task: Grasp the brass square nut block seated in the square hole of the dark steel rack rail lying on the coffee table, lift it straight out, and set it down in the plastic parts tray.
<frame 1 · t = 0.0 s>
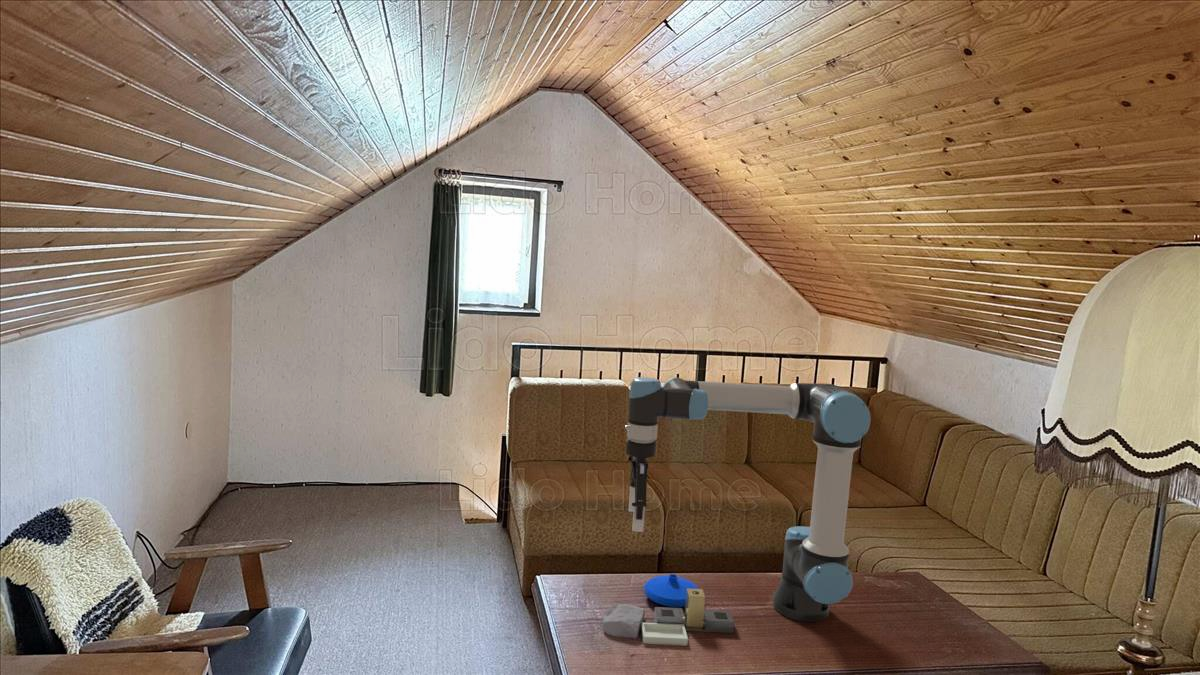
hand: (635, 520, 184), 28 cm above the table, fingers open, 13 cm apart
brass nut: (693, 625, 189), resting in rack rail
blue funnel disc: (671, 600, 202), on the table
rack rail: (693, 625, 189), on the table
parts tray: (663, 637, 182), on the table
stone block: (622, 627, 187), on the table
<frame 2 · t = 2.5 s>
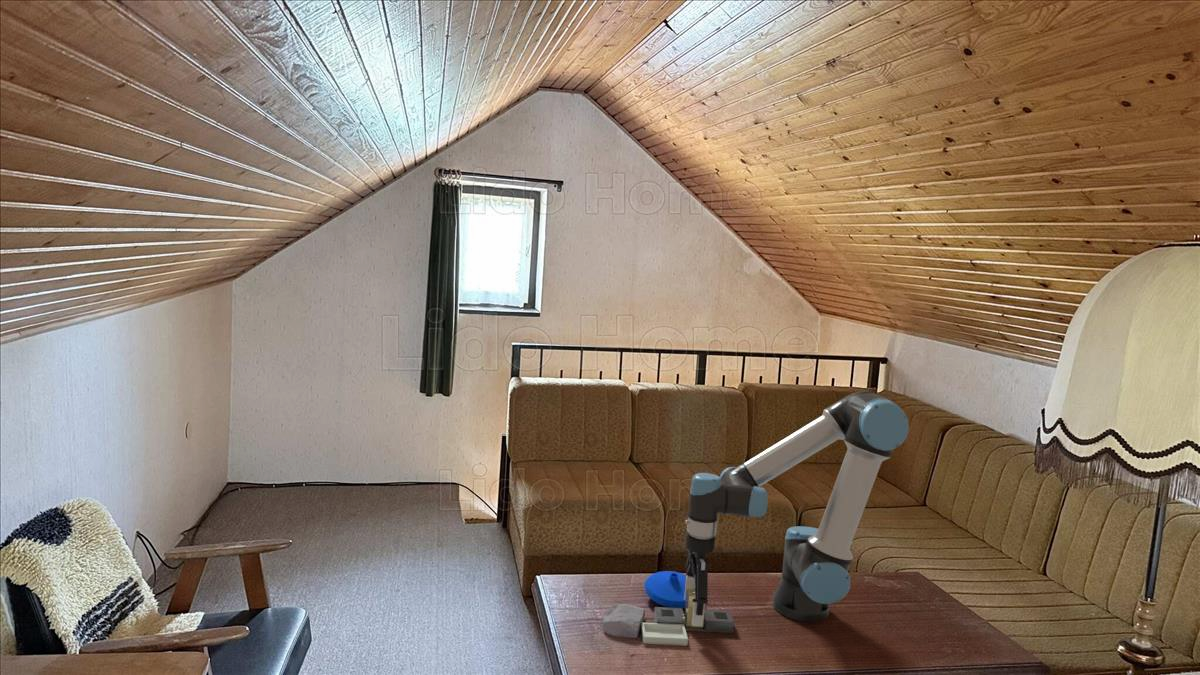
hand: (693, 612, 188), 4 cm above the table, fingers open, 13 cm apart
blue funnel disc: (671, 598, 202), on the table, touching gripper
everything else where it was.
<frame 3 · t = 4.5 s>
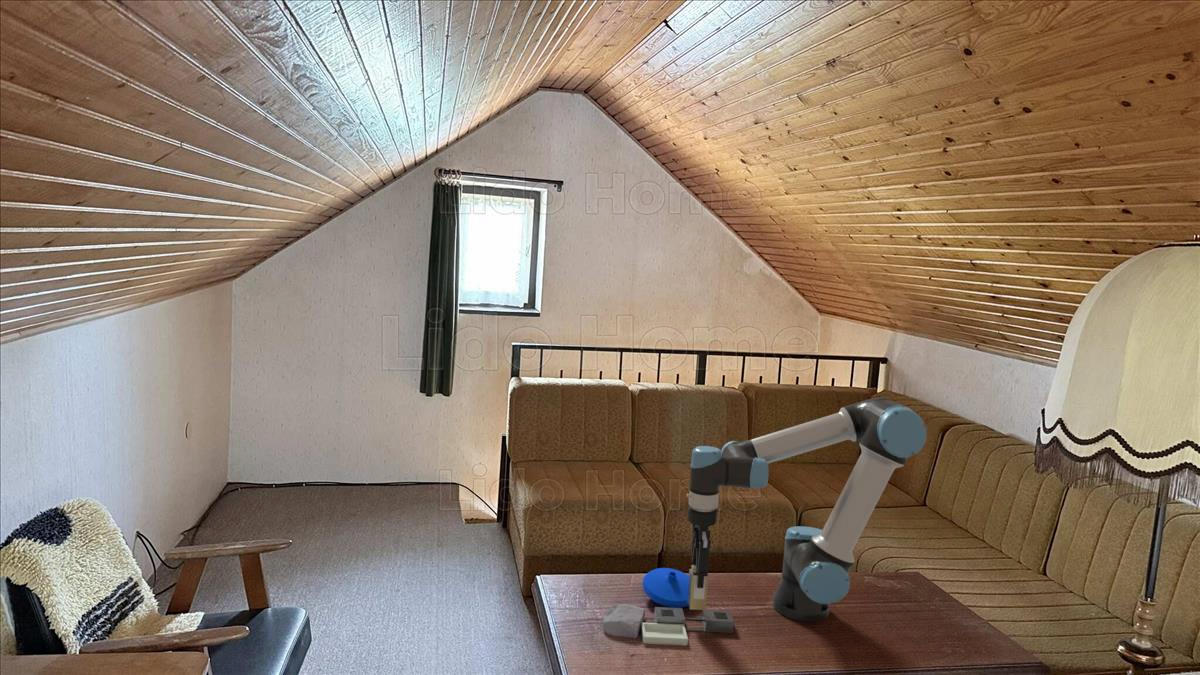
hand: (697, 593, 188), 9 cm above the table, fingers closed on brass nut, 4 cm apart
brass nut: (696, 605, 188), point 5 cm above the table, touching gripper
blue funnel disc: (668, 595, 202), point 1 cm above the table
everything else where it was.
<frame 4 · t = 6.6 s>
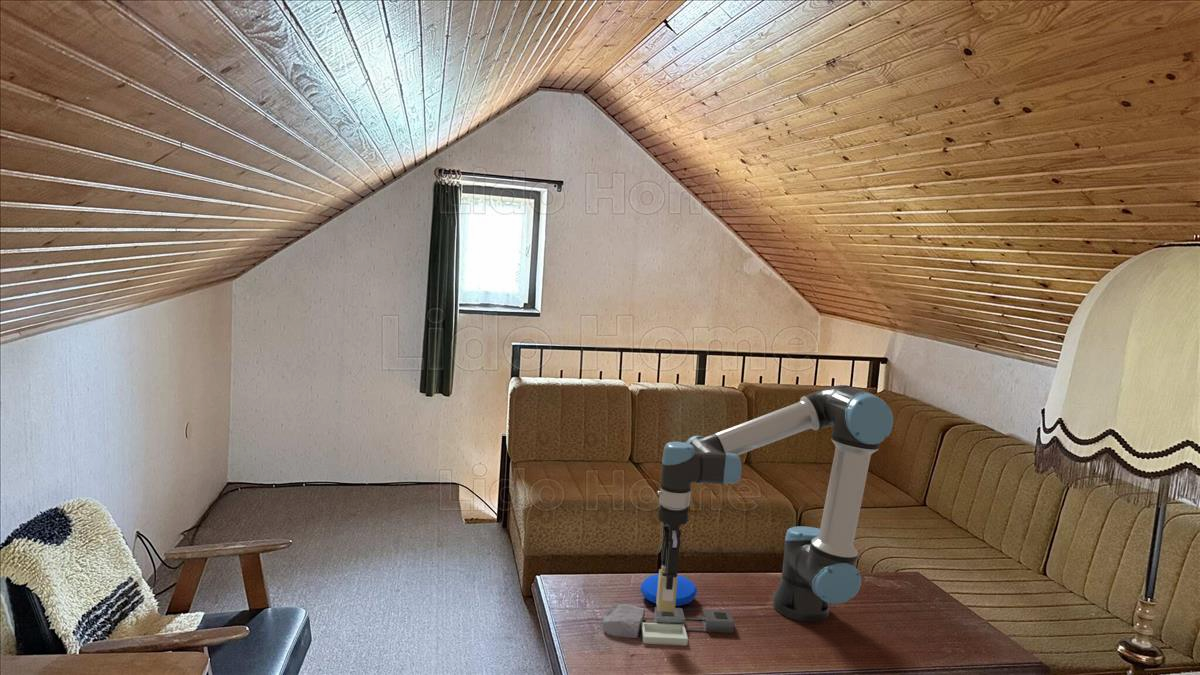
hand: (666, 595, 181), 11 cm above the table, fingers closed on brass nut, 4 cm apart
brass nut: (665, 607, 181), point 8 cm above the table, touching gripper
when the fingers open (3 cm above the table, at t = 8.0 s): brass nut stays where it is, resting on parts tray.
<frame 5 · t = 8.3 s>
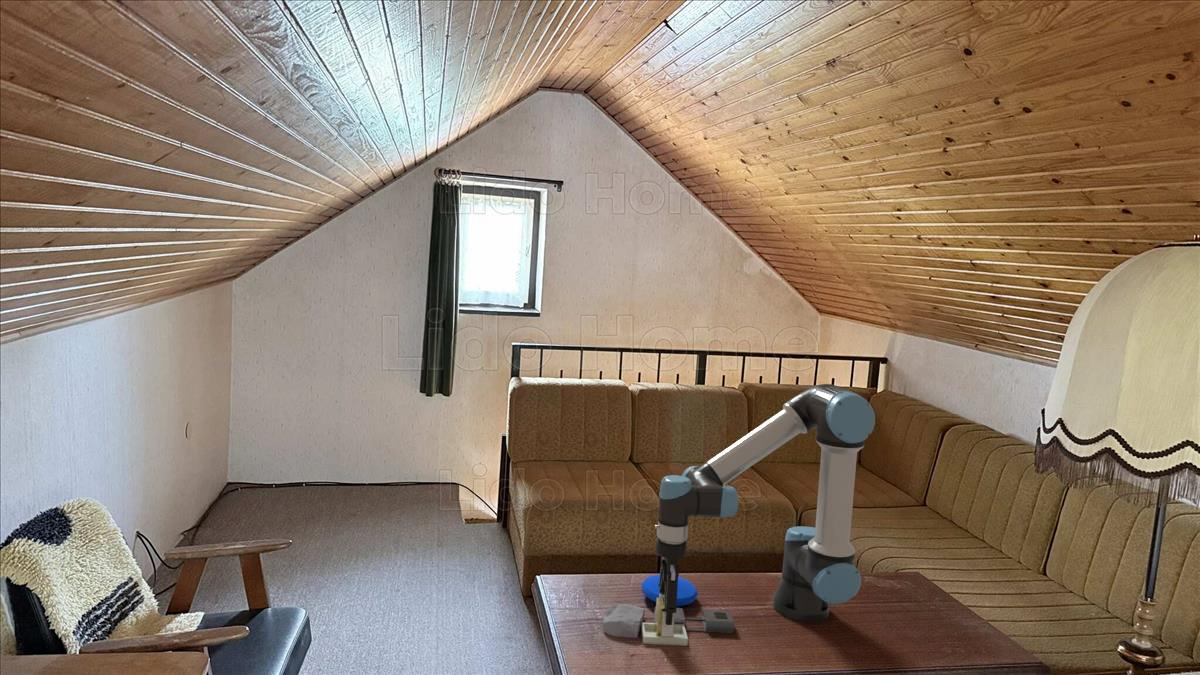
hand: (665, 627, 181), 3 cm above the table, fingers open, 7 cm apart
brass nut: (663, 635, 182), resting on parts tray
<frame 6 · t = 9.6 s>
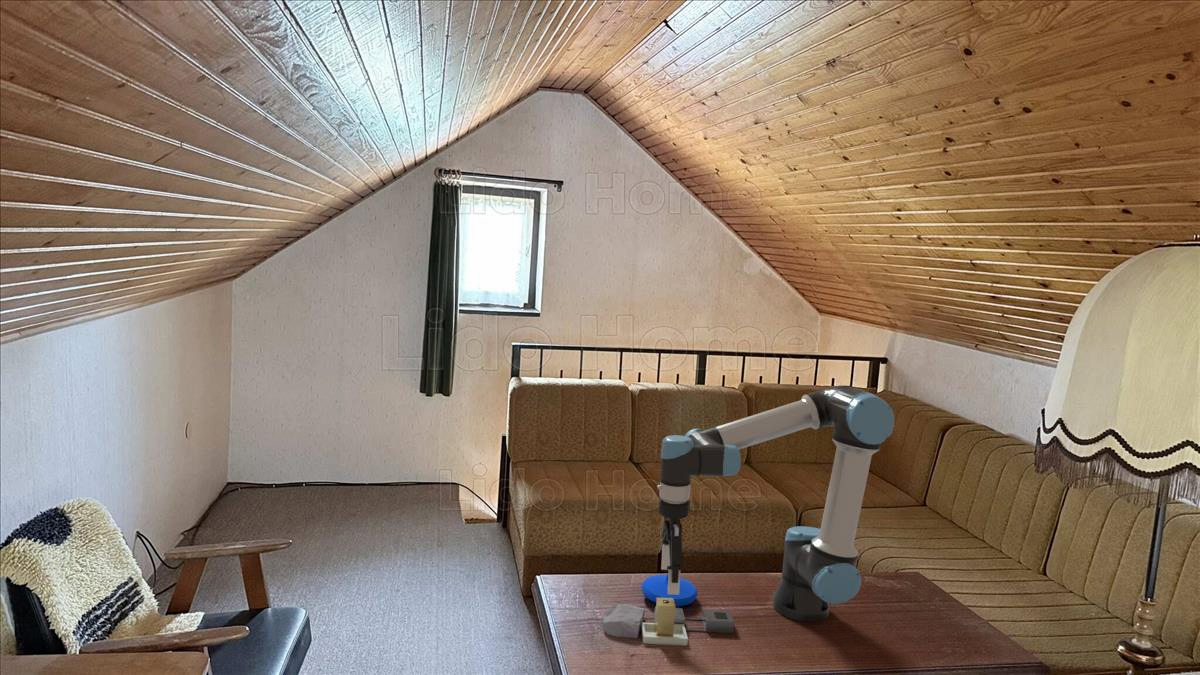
hand: (669, 581, 180), 15 cm above the table, fingers open, 13 cm apart
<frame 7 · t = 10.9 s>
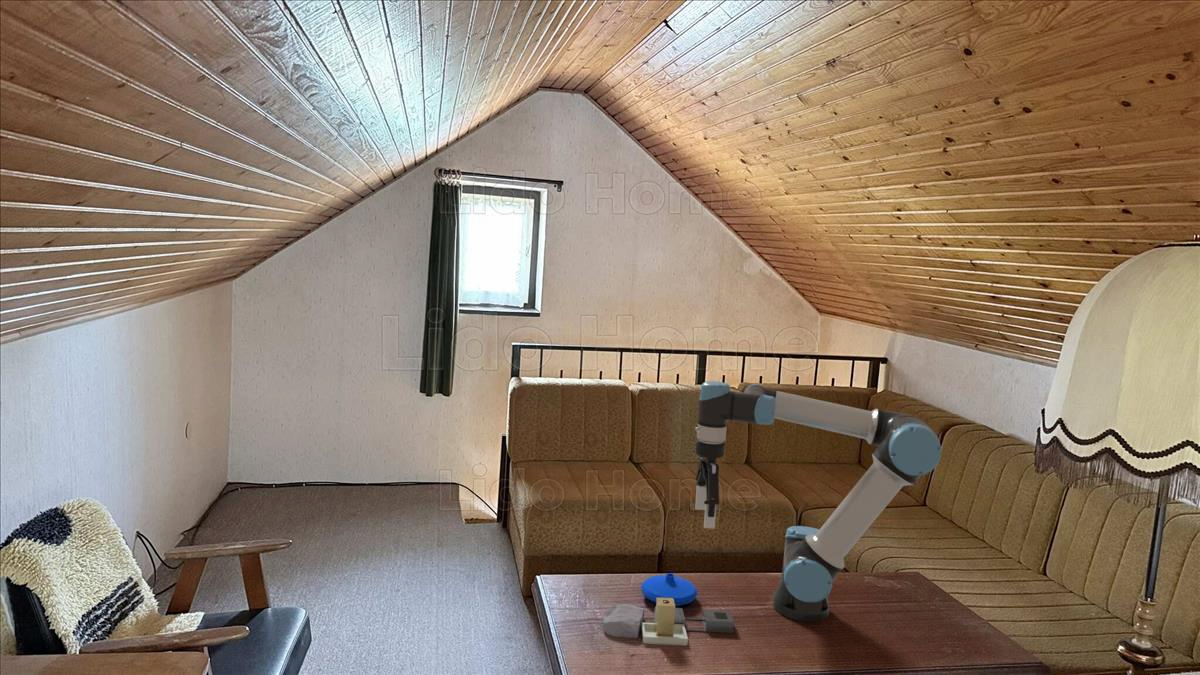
hand: (704, 518, 192), 27 cm above the table, fingers open, 13 cm apart
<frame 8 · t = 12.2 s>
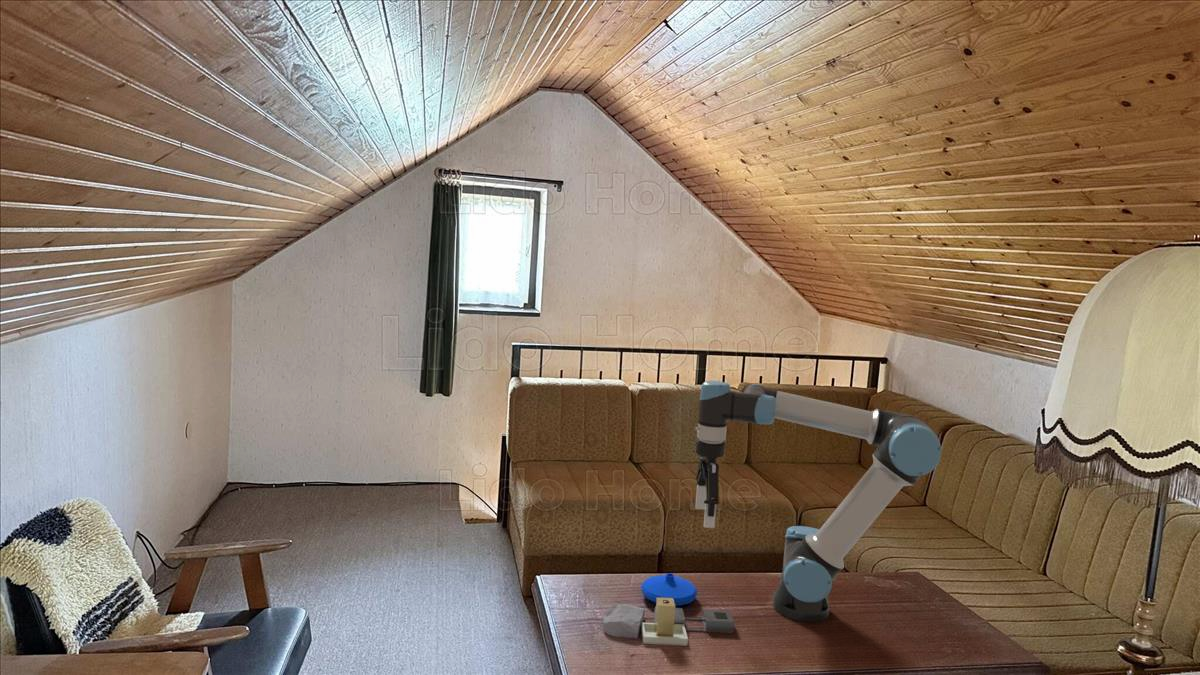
hand: (704, 517, 193), 27 cm above the table, fingers open, 13 cm apart
at the end: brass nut inside the target area on the parts tray (0.1 cm from its centre), point 0.4 cm above the parts tray's base; the gripper is holding nothing; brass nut touching parts tray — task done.
